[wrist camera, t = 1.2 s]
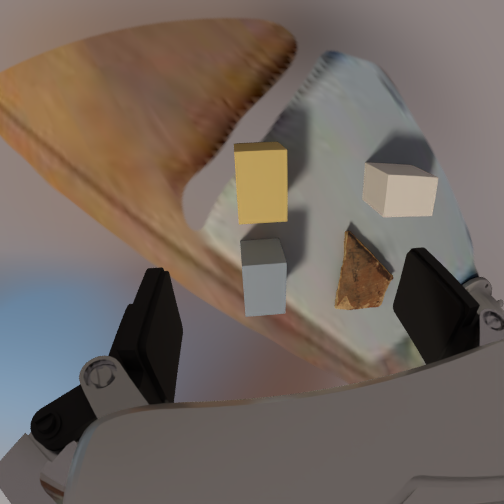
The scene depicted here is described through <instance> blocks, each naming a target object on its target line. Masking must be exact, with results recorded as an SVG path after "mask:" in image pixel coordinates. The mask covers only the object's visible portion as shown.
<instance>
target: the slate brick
mask: <svg viewBox="0 0 504 504" xmlns="http://www.w3.org/2000/svg"><path fill="white" fill-rule="evenodd" d="M240 244H241V259H242V273H243V287H244V301H245V314H246V317H247V316H260V315H272V314H284V313H285V306H286V273H287V262H286V259H285V256H284V253H283V250H282V247H281V244H280V241H279V238H276V239H261V240H246V241H240Z"/></svg>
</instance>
